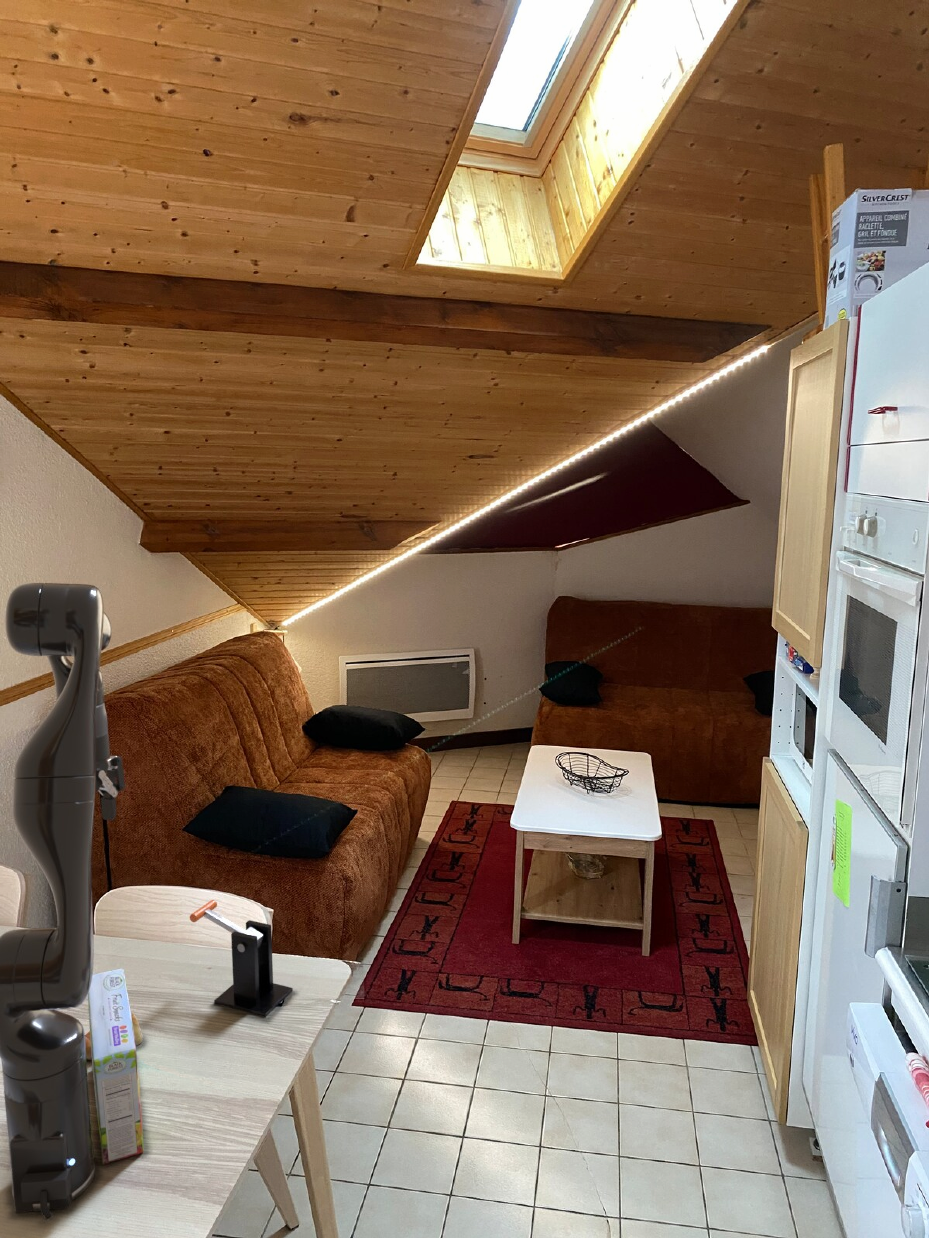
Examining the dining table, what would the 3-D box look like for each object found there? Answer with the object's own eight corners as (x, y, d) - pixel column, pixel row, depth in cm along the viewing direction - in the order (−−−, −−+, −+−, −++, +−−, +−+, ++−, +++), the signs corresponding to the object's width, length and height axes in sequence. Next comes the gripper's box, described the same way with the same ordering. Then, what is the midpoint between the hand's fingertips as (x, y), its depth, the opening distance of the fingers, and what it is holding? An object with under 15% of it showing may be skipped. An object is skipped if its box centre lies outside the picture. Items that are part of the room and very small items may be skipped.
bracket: (214, 1006, 149) (211, 934, 147) (243, 981, 156) (240, 912, 154) (265, 1020, 145) (263, 946, 143) (292, 994, 152) (290, 923, 150)
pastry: (83, 1070, 133) (81, 1046, 132) (70, 1048, 138) (68, 1025, 138) (146, 1045, 139) (145, 1022, 138) (131, 1025, 144) (130, 1003, 143)
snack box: (91, 1067, 134) (85, 973, 131) (132, 1057, 136) (126, 965, 133) (99, 1167, 114) (92, 1059, 112) (146, 1153, 117) (140, 1047, 114)
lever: (188, 922, 150) (191, 910, 149) (208, 907, 155) (212, 895, 154) (247, 957, 146) (250, 945, 146) (266, 941, 151) (269, 929, 151)
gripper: (67, 745, 138) (75, 847, 140) (132, 723, 151) (138, 816, 153) (29, 741, 141) (38, 841, 143) (97, 719, 154) (104, 811, 156)
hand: (90, 827), depth 148 cm, fingers open, 8 cm apart
